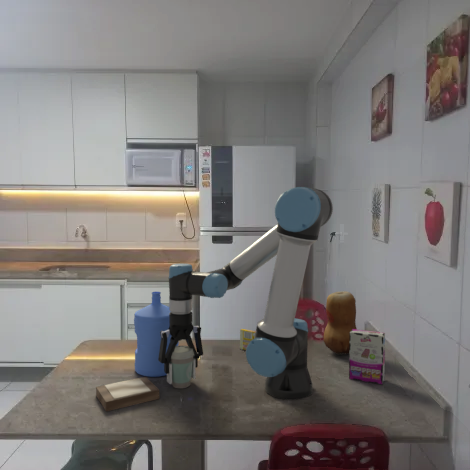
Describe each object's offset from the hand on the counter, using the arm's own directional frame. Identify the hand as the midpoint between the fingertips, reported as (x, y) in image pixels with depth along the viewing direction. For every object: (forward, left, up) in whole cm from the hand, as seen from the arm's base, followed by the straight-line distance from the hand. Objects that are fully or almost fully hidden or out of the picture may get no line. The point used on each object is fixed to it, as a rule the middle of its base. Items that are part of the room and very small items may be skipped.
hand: (181, 379), depth 141 cm
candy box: (+14, -40, -2) cm, 42 cm away
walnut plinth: (0, +18, -2) cm, 18 cm away
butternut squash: (-5, -67, -2) cm, 67 cm away
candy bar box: (-28, -56, -2) cm, 63 cm away
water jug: (+17, +2, -2) cm, 17 cm away
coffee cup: (0, 0, -2) cm, 2 cm away
